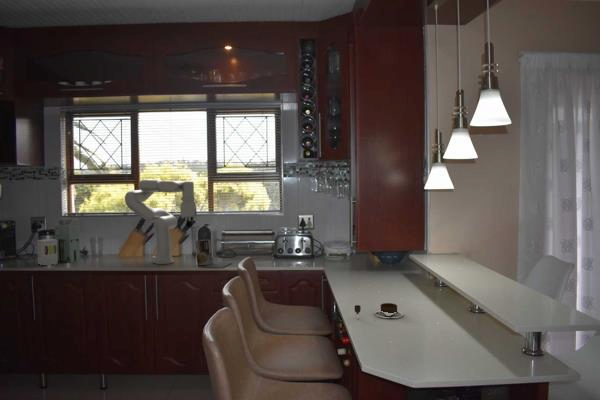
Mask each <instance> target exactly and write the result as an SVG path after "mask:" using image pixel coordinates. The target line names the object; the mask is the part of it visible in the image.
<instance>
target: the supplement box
mask: <svg viewBox="0 0 600 400" xmlns="http://www.w3.org/2000/svg"><path fill="white" fill-rule="evenodd" d="M36 242H37V244H36V245H37V246H36V247H37V248H36V249H37V265H38V264H40V265H39V266H42V265H47V266H51V265H50V264H54V265H58V264H57V263H58V256H57V240H56V239H55V238H48V239H47V238H46V239H45V238H44V239H37V240H36Z"/></svg>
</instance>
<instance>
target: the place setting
mask: <svg viewBox="0 0 600 400" xmlns="http://www.w3.org/2000/svg"><path fill="white" fill-rule="evenodd" d="M380 309H381V311H383V312H388V313H394V312H397V310H398V305H397V304H396V303H391V302H386V303H385V302H384V303H381V304H380ZM354 312H355V313H356V315H357V314H358V315H359V313H360V312H361V305H359V304H356V305H354Z"/></svg>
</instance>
